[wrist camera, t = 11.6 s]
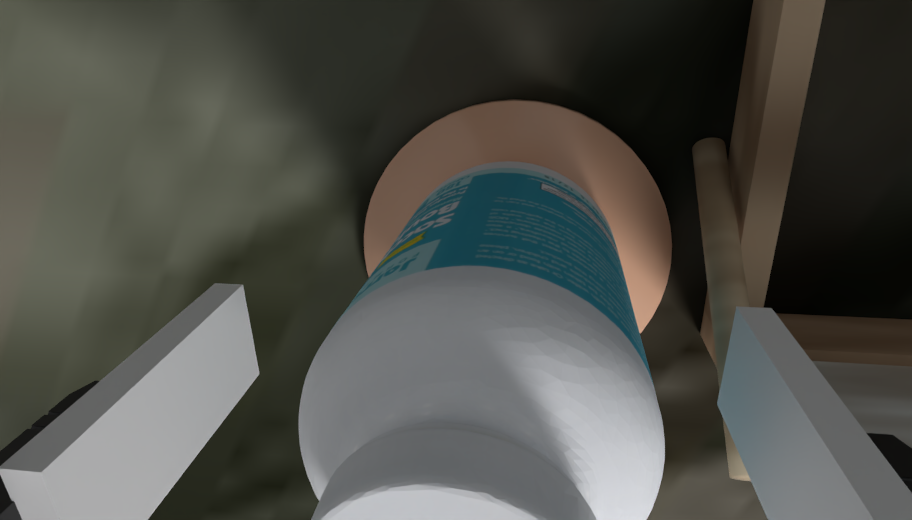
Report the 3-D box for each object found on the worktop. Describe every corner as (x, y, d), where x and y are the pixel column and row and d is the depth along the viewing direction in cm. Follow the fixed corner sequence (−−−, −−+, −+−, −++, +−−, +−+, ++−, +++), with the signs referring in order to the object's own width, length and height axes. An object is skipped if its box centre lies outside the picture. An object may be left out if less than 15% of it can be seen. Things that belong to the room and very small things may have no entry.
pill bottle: (445, 123, 19) (259, 303, 7) (653, 201, 19) (833, 523, 7) (384, 307, 22) (179, 659, 10) (563, 375, 22) (579, 814, 10)
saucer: (356, 99, 20) (350, 101, 20) (688, 98, 18) (692, 100, 18) (379, 369, 24) (375, 377, 24) (651, 387, 23) (653, 396, 22)
